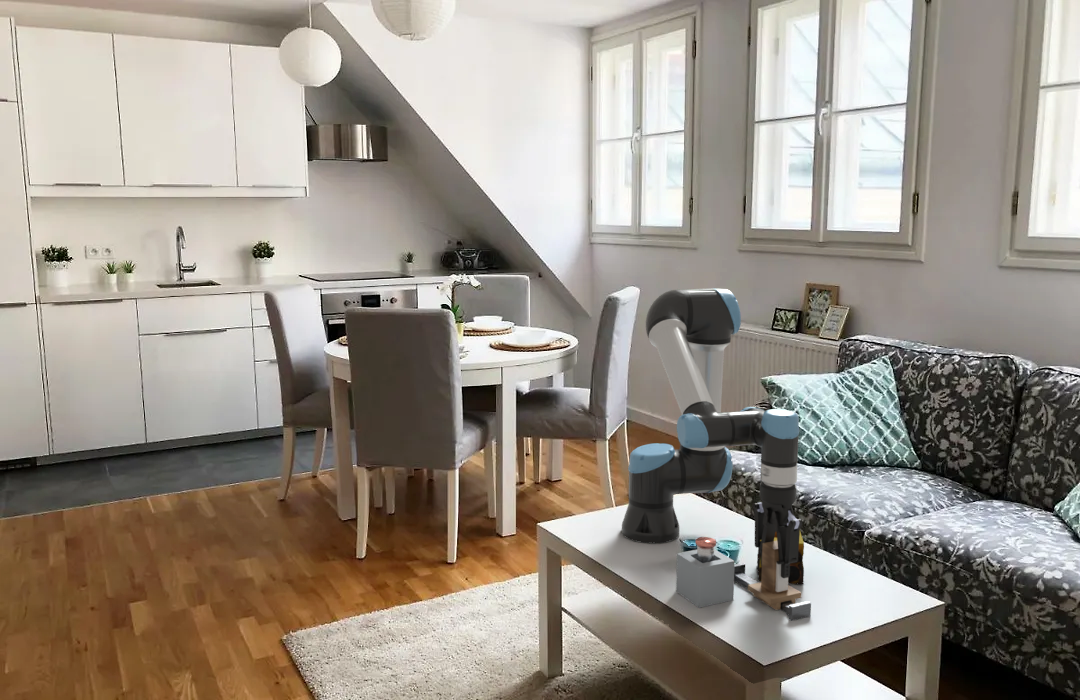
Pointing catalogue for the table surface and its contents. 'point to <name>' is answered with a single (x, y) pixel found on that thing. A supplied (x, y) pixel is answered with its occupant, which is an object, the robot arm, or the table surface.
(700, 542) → the plunger
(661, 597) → the table surface
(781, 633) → the table surface
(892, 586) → the table surface
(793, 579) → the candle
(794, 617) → the rail
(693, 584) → the housing
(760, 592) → the carriage
